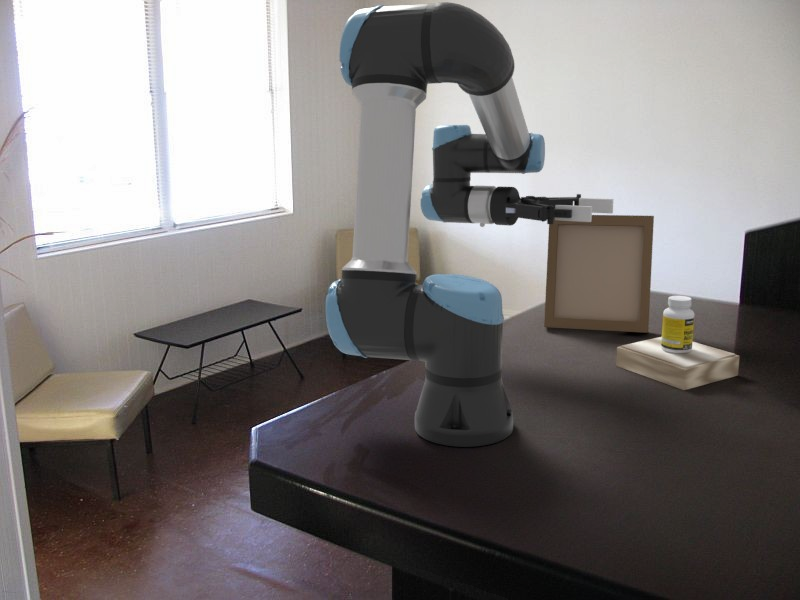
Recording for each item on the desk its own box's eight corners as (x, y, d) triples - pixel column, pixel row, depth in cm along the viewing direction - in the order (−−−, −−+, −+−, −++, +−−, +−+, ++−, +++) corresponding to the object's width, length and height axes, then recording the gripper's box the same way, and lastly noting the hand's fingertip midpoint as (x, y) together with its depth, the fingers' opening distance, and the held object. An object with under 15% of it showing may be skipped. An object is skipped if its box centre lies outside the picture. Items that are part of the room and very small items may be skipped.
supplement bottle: (686, 356, 142) (689, 302, 140) (656, 351, 146) (659, 299, 143) (696, 348, 146) (699, 296, 144) (666, 343, 150) (669, 293, 147)
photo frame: (648, 337, 168) (654, 219, 162) (544, 331, 174) (546, 217, 169) (648, 320, 182) (653, 210, 176) (551, 315, 188) (554, 209, 182)
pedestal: (684, 390, 137) (685, 368, 136) (616, 365, 150) (617, 345, 149) (737, 375, 144) (739, 354, 143) (668, 353, 157) (669, 333, 156)
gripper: (519, 217, 168) (619, 222, 158) (468, 232, 147) (580, 239, 137) (519, 181, 167) (621, 184, 156) (468, 192, 146) (581, 195, 135)
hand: (602, 210), depth 146 cm, fingers open, 13 cm apart
